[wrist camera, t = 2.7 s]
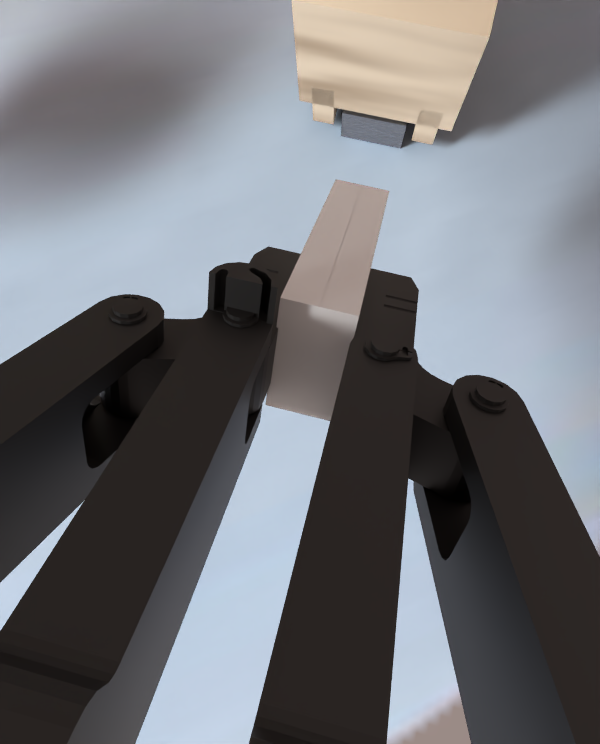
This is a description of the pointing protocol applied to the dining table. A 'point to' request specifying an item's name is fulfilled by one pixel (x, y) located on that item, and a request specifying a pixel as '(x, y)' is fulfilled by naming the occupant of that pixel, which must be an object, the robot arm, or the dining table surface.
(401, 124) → the rail track
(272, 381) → the robot arm
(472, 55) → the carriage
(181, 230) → the dining table surface
